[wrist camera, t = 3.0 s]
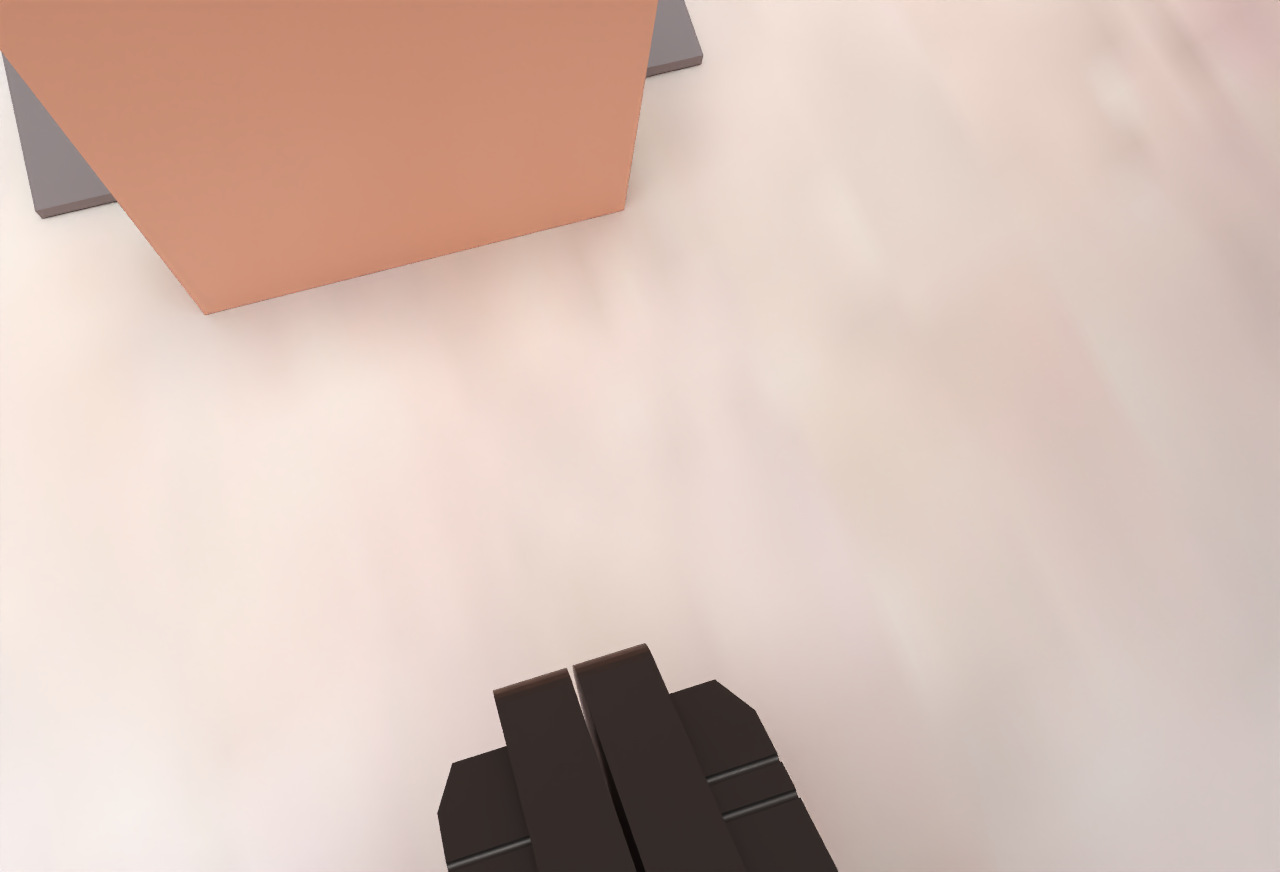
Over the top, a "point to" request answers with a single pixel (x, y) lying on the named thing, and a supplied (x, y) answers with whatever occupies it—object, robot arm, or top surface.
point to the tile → (338, 125)
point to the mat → (74, 186)
